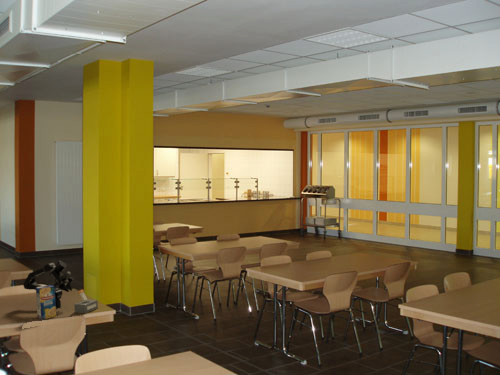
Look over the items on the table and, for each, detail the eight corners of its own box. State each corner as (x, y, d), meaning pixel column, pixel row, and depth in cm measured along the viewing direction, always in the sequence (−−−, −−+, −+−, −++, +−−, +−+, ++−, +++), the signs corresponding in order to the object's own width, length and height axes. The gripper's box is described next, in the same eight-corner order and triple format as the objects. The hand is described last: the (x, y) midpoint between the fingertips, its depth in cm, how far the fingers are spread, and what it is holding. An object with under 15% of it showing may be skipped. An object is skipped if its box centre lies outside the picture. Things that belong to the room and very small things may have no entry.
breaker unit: (74, 312, 390) (74, 303, 390) (87, 307, 403) (86, 299, 403) (85, 313, 386) (85, 304, 386) (97, 308, 399) (97, 300, 399)
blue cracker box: (37, 317, 379) (35, 287, 378) (52, 314, 386) (50, 284, 385) (41, 319, 374) (39, 289, 373) (56, 316, 381) (54, 286, 380)
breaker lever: (82, 301, 394) (77, 291, 395) (85, 300, 397) (80, 290, 398) (84, 300, 393) (79, 290, 394) (88, 299, 396) (83, 289, 397)
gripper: (54, 271, 393) (67, 286, 389) (71, 266, 410) (84, 281, 406) (47, 281, 396) (59, 296, 392) (64, 276, 413) (76, 290, 409)
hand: (70, 291), depth 400 cm, fingers open, 3 cm apart
